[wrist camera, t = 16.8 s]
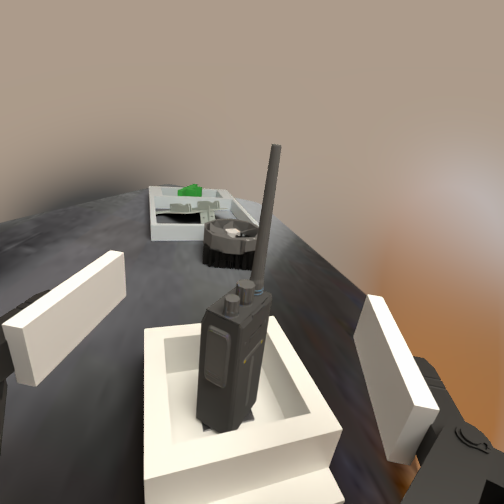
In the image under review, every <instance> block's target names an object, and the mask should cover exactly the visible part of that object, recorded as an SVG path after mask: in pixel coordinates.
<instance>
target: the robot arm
mask: <svg viewBox="0 0 504 504" xmlns="http://www.w3.org/2000/svg"><path fill="white" fill-rule="evenodd" d="M125 296H126V282H125V265H124V253H123V252H117V251H111V250H110V251H109V252H107V253H106V254H104V255H103V256H101V257H100V258H99V259H97V260H96V261H94V262H93V263H91V264H90V265H88V266H87V267H85V268H84V269H82V270H81V271H79V272H78V273H76V274H75V275H73V276H72V277H71V278H69V279H68V280H66V281H65V282H63V283H62V284H60V285H59V286H57V287H56V288H54V289H53V290H46V291H44V292H41V293H38V294H36V295H34V296H32V297H31V298H29V299H28V300H26V301H25V303H22V304H20V305H19V306H17V307H16V309H15V308H14V309H13V310H11V311H9V312H8V313H6V314H5V315H3V316H2V317H0V454H1V444H2V434H3V424H4V414H5V404H6V394H7V382H6V378H7V377H8V376H9V375H10V374H12V373H13V372H15V376H16V379H17V383H21V384H26V385H30V386H35V387H36V386H37V385H38V384H39V383H40V382H41V381H42V380H43V379H44V378H45V377H46V376H47V375H48V374H49V373H50V372H51V371H52V370H53V369H54V368H55V367H56V366H57V365H58V364H59V363H60V362H61V361H62V360H63V359H64V358H65V357H66V356H67V355H68V354H69V353H70V352H71V351H72V350H73V349H74V348H75V347H76V346H77V345H78V344H79V343H80V342H81V341H82V340H83V339H84V338H85V337H86V336H87V335H88V334H89V333H90V332H91V331H92V330H93V329H94V328H95V327H96V326H97V325H98V324H99V323H100V322H101V321H102V320H103V319H104V318H105V317H106V316H107V315H108V314H109V313H110V311H111V310H112V309H113V308H114V307H115V306H116V305H117V304H118V303H119V302H120V301H121V300H122V299H123V298H124V297H125ZM354 341H355V344H356V348H357V352H358V355H359V359H360V363H361V366H362V370H363V373H364V377H365V381H366V384H367V388H368V392H369V395H370V399H371V403H372V406H373V410H374V413H375V417H376V421H377V424H378V428H379V432H380V435H381V439H382V442H383V446H384V450H385V453H386V457H387V461H392V462H396V463H401V464H406V465H411V463H412V461H413V459H414V457H415V455H417V458H418V461H419V463H420V466H421V468H420V469H419V471H418V473H417V474H416V476H415V478H414V480H413V481H412V483H411V485H410V487H409V489H408V491H407V492H406V494H405V496H404V498H403V499H402V501H401V503H400V504H504V453H503V452H501V451H499V450H497V449H495V448H493V446H492V445H491V442H490V441H489V440H488V439H487V437H486V436H485V435H484V434H483V433H482V432H481V431H479V430H478V429H477V428H476V427H474V426H472V425H471V424H469V423H467V422H465V421H464V419H463V417H462V416H461V414H460V412H459V410H458V409H457V407H456V405H455V403H454V402H453V400H452V398H451V396H450V395H449V393H448V391H447V390H446V388H445V386H444V384H443V382H442V381H441V379H440V377H439V376H438V374H437V372H436V370H435V368H434V367H433V366H432V365H430V364H429V363H428V362H427V361H426V360H425V359H424V358H420V357H415V356H412V354H411V352H410V350H409V348H408V347H407V344H406V342H405V340H404V339H403V337H402V335H401V333H400V331H399V329H398V327H397V325H396V323H395V321H394V319H393V317H392V315H391V313H390V311H389V309H388V307H387V305H386V303H385V301H384V299H383V297H379V296H374V295H368V294H367V297H366V300H365V303H364V306H363V309H362V312H361V315H360V318H359V321H358V324H357V327H356V331H355V334H354Z"/></svg>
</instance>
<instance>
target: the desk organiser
mask: <svg viewBox="0 0 504 504" xmlns="http://www.w3.org/2000/svg"><path fill="white" fill-rule="evenodd" d="M180 189H182V188H179V187H159V186H149V205H150V227H151V241H203V240H204V224H157V223H156V212H155V208H159V209H170V204H176V203H181V204H183V205H185V204H187V203H188V204H189V203H190V204H191V206H192V208H196V207H198V206H197V202H198V201H210V202H212V203H213V202H214V201H219V202H220V208H228V209H223V210H231V212H232V213H233V214H234V215H235V216H236V218H237V219H238V220H243V221H247V222H250V223H253V224H256V225H257V226H258V227H259V224H258V222H257V221H256V220H255V219H254V218H253V217H252V216H251V215H250V214H249V213H248V212H247V211H246V210H245V209H244V208H243V207H242V206H241V205H240V204H239V203H238V202H237V200H236V199H235V198H234V197H233V196H232V195H231V194H230V193H229V192H228V191H227V190H219V189H202V197H191V196H178V190H180ZM171 207H172V206H171ZM189 207H190V205H189ZM243 236H244V234H243Z"/></svg>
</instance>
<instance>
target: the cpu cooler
mask: <svg viewBox="0 0 504 504" xmlns="http://www.w3.org/2000/svg"><path fill="white" fill-rule="evenodd" d="M258 228H259V227H258V226H257V225H256V224H253V223H250V222H247V221H243V220H237V219H216V220H212V221H209V222H206V223H205V224H204V240H203V243H204V251H203V264H209V265H211V264H216V262H219V261H220V260H227V261H223V262H220V263H219V266H218V264H217V265H215V266H214V267H215V268H218V267H219V268H221V267H225V266H226V263H227V262H228V264H229V261H230V264H231V262H233V261H234V266H235V269H239V265H242V267H243V269H244V266H245V270H249V269H250V270H251V269H252V266H253V260H254V254H255V247H256V241H257V235H258ZM243 234H244V236H243ZM230 269H231V266H230ZM232 269H233V263H232Z"/></svg>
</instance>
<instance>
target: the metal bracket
mask: <svg viewBox="0 0 504 504" xmlns="http://www.w3.org/2000/svg"><path fill="white" fill-rule="evenodd" d="M189 205H190V207H189ZM171 206H172V207H171ZM197 206H198V207H196V208H192V206H191V204H190V203H189V204H188V203H187V204H185V205H183V204H181V203H176V204H170V210H168V211H159V212H156V214H162V213H171V214H189V213H198V212H200V220H201V224H205V223H206V222H209V221H212V220H215V213H214V210H223V209H228V208H220V202H219V201H214V202H213V203H212V202H210V201H198V202H197ZM211 216H212V217H211ZM203 217H204V218H203Z"/></svg>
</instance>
